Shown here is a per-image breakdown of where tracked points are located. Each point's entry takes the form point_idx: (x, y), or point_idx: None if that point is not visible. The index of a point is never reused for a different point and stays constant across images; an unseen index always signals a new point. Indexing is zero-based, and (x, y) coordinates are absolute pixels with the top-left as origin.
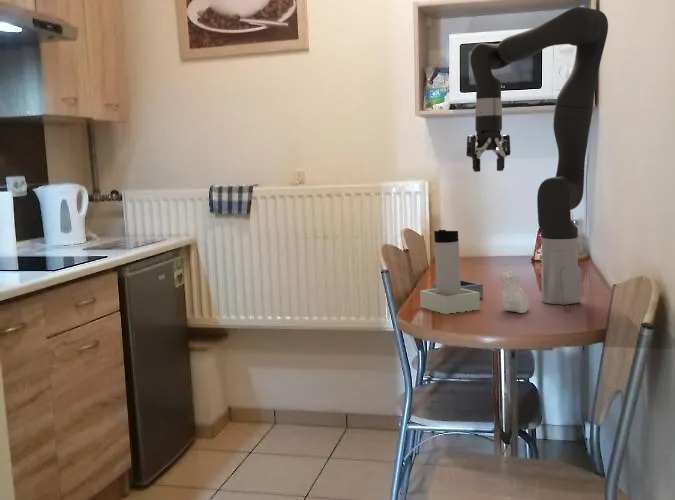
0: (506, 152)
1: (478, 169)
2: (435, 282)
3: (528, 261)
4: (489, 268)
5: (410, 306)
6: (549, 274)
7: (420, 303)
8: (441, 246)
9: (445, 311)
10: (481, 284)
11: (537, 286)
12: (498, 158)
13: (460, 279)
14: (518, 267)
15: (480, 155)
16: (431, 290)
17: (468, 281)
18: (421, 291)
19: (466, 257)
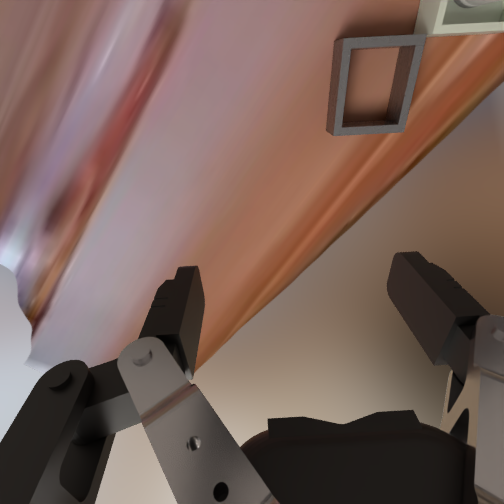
0: (87, 396)
1: (421, 256)
2: (396, 132)
3: (46, 323)
4: (139, 303)
5: (497, 57)
6: None
7: (501, 32)
8: None
9: None
10: (347, 38)
11: (152, 97)
12: (188, 362)
13: (333, 134)
14: (88, 288)
15: (480, 341)
16: (499, 22)
17: (340, 97)
18: None
19: None
